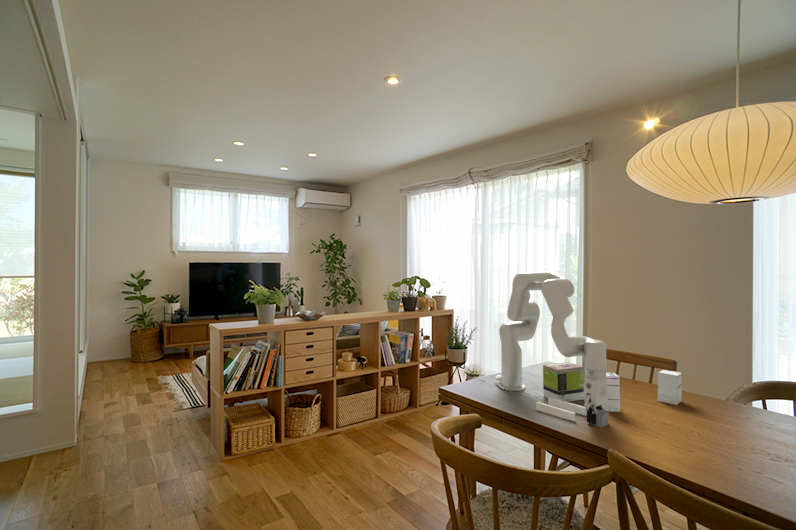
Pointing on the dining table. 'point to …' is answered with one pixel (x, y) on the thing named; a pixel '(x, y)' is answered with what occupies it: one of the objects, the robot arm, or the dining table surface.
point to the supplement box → (670, 387)
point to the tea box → (563, 381)
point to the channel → (564, 407)
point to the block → (601, 418)
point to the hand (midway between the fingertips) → (594, 420)
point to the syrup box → (612, 393)
